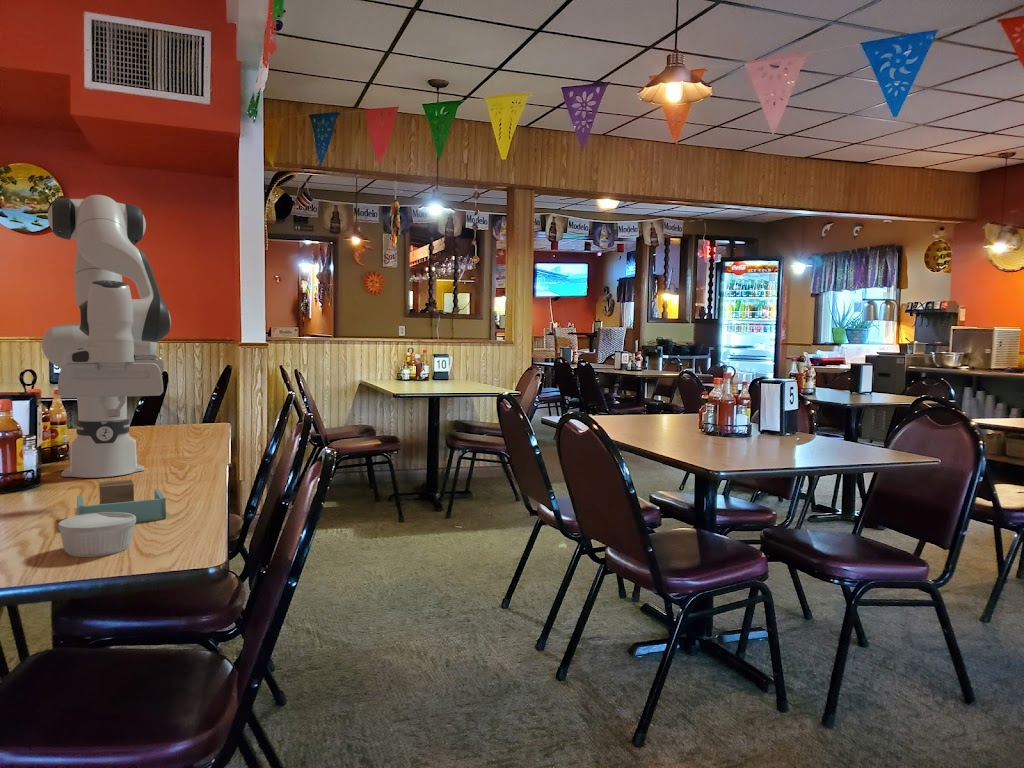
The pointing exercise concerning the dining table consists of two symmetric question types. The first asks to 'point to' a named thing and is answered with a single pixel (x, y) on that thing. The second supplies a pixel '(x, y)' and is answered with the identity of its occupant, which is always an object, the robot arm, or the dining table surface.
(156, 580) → the dining table surface
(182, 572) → the dining table surface
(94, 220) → the robot arm
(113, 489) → the walnut tile block
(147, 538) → the dining table surface
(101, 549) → the ramekin
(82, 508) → the box
